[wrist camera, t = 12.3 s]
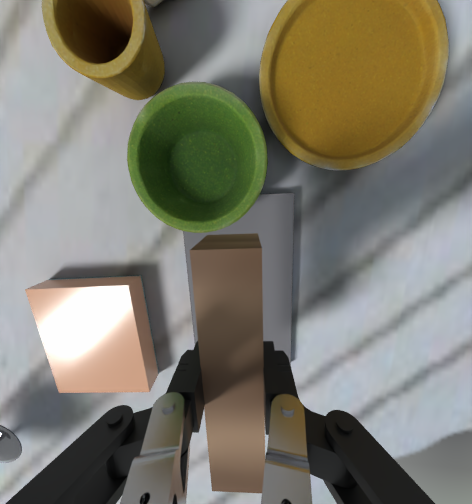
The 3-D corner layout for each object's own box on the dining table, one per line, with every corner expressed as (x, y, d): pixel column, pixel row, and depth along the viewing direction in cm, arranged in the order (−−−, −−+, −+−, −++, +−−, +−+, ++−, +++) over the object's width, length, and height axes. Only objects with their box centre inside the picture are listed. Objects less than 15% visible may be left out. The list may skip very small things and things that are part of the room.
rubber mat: (182, 197, 20) (179, 198, 19) (292, 193, 20) (294, 192, 19) (198, 362, 25) (197, 368, 24) (289, 363, 24) (290, 368, 23)
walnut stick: (207, 235, 13) (189, 250, 9) (258, 233, 13) (261, 248, 9) (220, 421, 16) (212, 491, 12) (261, 422, 16) (265, 493, 12)
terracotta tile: (25, 289, 20) (58, 392, 23) (128, 285, 20) (149, 391, 23) (52, 277, 23) (79, 371, 26) (143, 273, 23) (160, 369, 26)
